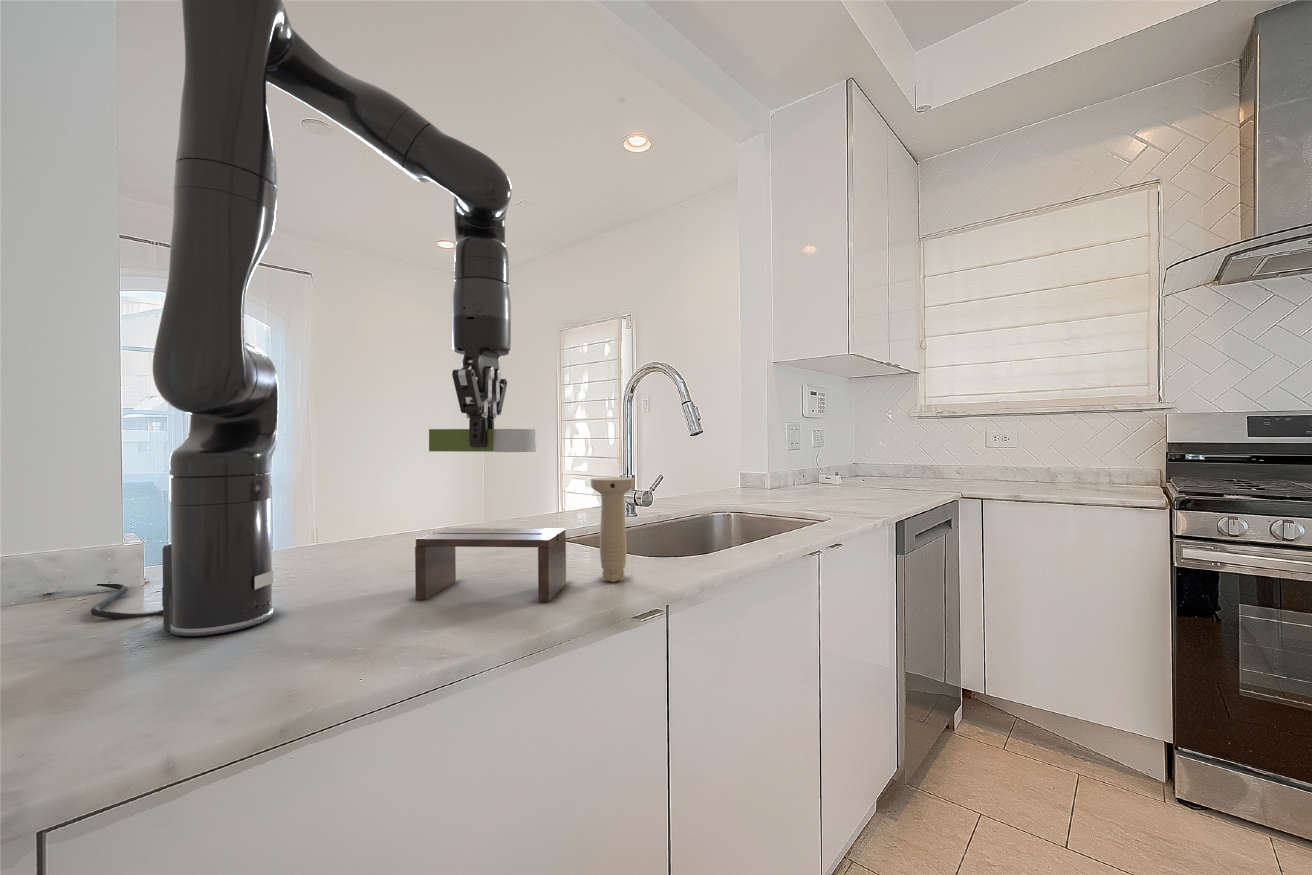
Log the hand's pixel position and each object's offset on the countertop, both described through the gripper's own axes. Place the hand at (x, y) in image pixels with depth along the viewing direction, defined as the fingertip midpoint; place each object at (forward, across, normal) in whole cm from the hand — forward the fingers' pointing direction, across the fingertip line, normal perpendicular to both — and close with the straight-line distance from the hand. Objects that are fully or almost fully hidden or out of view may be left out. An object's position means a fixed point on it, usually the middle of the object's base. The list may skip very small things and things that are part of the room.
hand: (481, 446), depth 75 cm
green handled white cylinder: (+1, 0, 0) cm, 1 cm away
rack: (+20, -2, +1) cm, 20 cm away
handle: (+20, -9, +16) cm, 28 cm away
